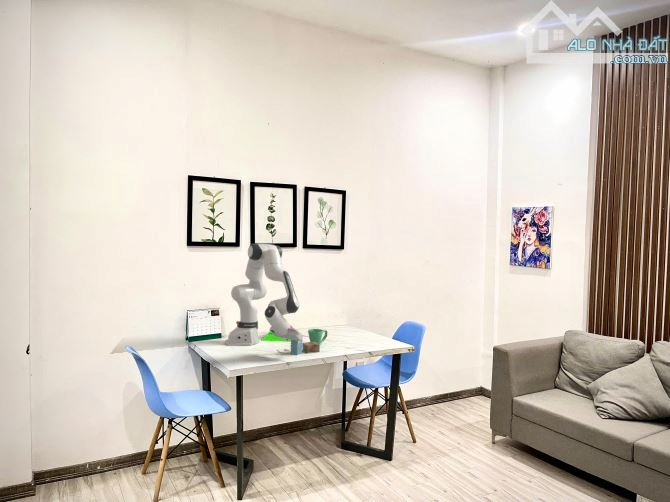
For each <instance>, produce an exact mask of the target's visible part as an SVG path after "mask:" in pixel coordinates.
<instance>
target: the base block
mask: <svg viewBox="0 0 670 502" xmlns="http://www.w3.org/2000/svg"><path fill="white" fill-rule="evenodd" d="M320 347H321V343H320V344H318V343H316V342H310V341H308V342H307V341H306V342H302V352H305V353H306V354H312V353H315V354H316V353H320V349H321V348H320Z"/></svg>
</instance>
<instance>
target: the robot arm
mask: <svg viewBox="0 0 670 502" xmlns="http://www.w3.org/2000/svg"><path fill="white" fill-rule="evenodd" d="M247 256H248V261H247V263H246V269H245V272H244V275H245V277H246V279H248V280H249V282H248V283H244V284H237V285H235V286H232V289H231V291H230V292H231V293H230V295H231V298H232V299H233V300H234V301H235V302H236V304H238V307H239V313H240V315H239V317H240V318H239V319H240V320H237V321H236V322H235V323H236V327H235V328H234V329H233V330H231V331H230V332H229V334H228V337H227V339H225V340H224V344H225V345H226V346H253V345H256V344H259V343H260V339H259V333H258V331H259V330H258V329H259V321H258V309H257V308H256V307H255V306H254V305H253V303H252V301H254V300H255V301H256V300H257V301H258V300H261V299H264V298H265V297H266V295H267V293H268V292H267V287H266V285H265V284H264V283H263V275H265V277H266V278H267V279H269V280H271V281H273V282H279V283H280V282H281V283H283V285H284V289H285V293H286V296H284V297H282V298H281V297H280V298H278V299H274V300H271V301H270V302H269V304H268V306H267V307H266V308H265V310H264V316H265V317H264V318H265V319H266V320H267V322H268V324H269V325H270V328H269V332H270V331H271V332H272V333H273V335H274V336H276V337H280V338H282V339H284V340H285V341H288V339H291V340H296V342H297V343H300V341H301V340H302V339H303V337H304V335H303V334H302V333H301V332H300V331H299V330H298V329H296V328H294V329H292V328H290V325H291V324H290V323H289V322H288V320H287V319H286V318H285V317H284V315H288V314H295V313H297V312H298V311H299V308H300V302H299V299H298V297H297V295H296V292H295V289H294V285H293V283H292V279H291V275H289V272H288V271H286V270H284V267H283V263H282V256H283V249H282V248H281V246H279V245H275V244H269V243H251V244H249V247H248V249H247ZM263 273H264V274H263ZM302 341H303V340H302Z"/></svg>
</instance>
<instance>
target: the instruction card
mask: <svg viewBox="0 0 670 502" xmlns="http://www.w3.org/2000/svg"><path fill="white" fill-rule="evenodd" d="M276 351H277V352H278V353H288V352H289V353H291V347H289V348H281V349H280V348H279V349H276Z"/></svg>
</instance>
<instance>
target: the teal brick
mask: <svg viewBox="0 0 670 502" xmlns="http://www.w3.org/2000/svg"><path fill="white" fill-rule="evenodd" d="M290 348H291V352H290V355H295V356H298V355H302V354H303V338H302V340H301V341H300V343H297V342H296V340H291V342H290Z"/></svg>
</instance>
